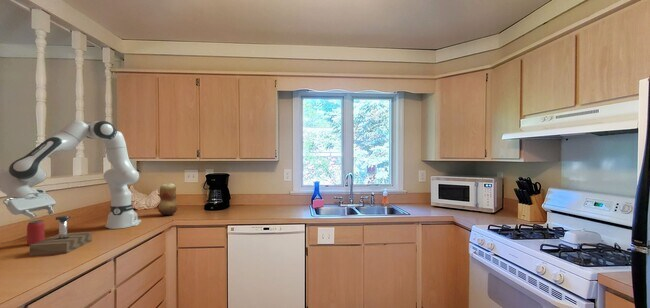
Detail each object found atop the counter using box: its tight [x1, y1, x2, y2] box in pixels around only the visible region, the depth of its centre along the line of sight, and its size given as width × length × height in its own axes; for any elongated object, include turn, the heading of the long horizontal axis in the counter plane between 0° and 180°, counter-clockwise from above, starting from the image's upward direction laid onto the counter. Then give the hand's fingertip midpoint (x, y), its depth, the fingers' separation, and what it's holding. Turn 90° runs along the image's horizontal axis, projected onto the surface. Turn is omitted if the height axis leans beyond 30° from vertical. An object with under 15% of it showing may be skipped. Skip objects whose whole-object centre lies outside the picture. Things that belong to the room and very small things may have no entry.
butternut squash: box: [157, 182, 179, 216], centre depth 220 cm, size 14×13×25 cm
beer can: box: [26, 219, 46, 246], centre depth 150 cm, size 7×7×12 cm
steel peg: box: [55, 215, 71, 239], centre depth 143 cm, size 6×6×16 cm
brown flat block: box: [29, 231, 93, 257], centre depth 143 cm, size 20×15×5 cm
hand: (43, 215), depth 143 cm, fingers open, 8 cm apart
